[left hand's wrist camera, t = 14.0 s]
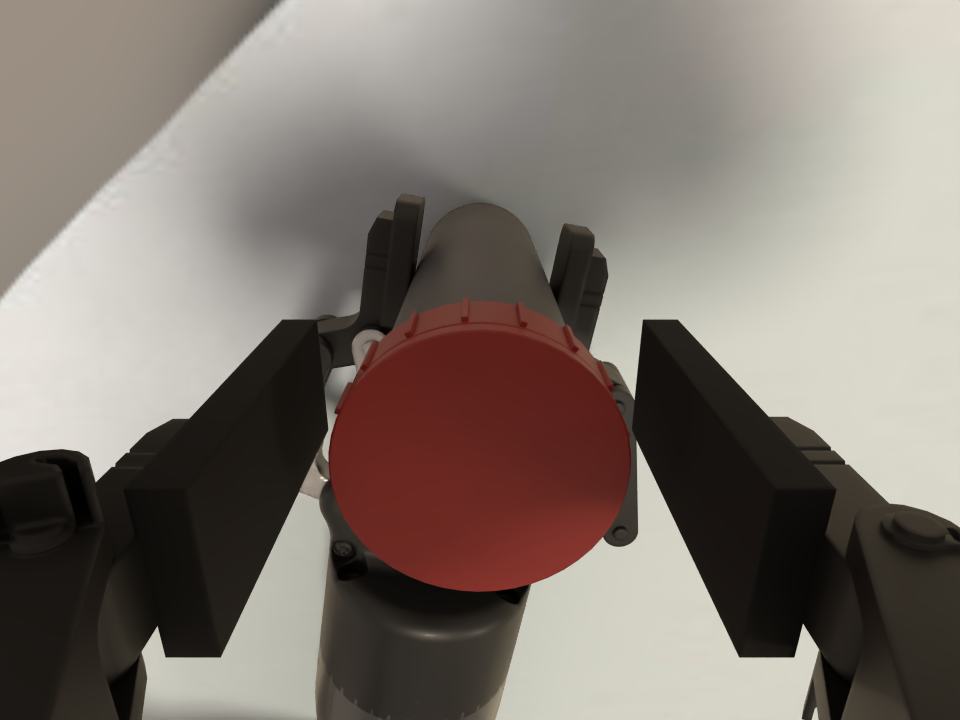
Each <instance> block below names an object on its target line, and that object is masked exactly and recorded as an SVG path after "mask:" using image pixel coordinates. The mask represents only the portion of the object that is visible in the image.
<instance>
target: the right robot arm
mask: <svg viewBox="0 0 960 720" xmlns="http://www.w3.org/2000/svg"><path fill="white" fill-rule="evenodd" d="M424 206H425V198H424V197H419V196H413V195H408V194H402V195H401V196H400V197H399V198H398V199H397V201H396V205H395V210H394V212H391V211H386V210H384V211H383V212H382V213H381V214H380V215H379V216H378V217H377V219H376V221H375V222H374V224H373V226H372V228H371V230H370V231H369V233H368V241H367V250H366V259H365V269H364V278H363V287H362V296H361V306H360V311H359V312H358V313H356V314H354V315H351V316H345V317H339V318H337V317H335V316H332V315H323V316H320V317H318V318H317V319H315V320H317V325H318V334H319V344H320V354H321V363H322V373H323V383H324V387H325V384H326V382H327V380H328V378H329V375H330V373H331V371H332V369H333V368H339V367H345V366H351V365H355V366H356V371H357V373H358V371H359V369H360V366H361V364H362V362H363V360H364V358H365V356H366V353H367V351H368V349H369V347H370V345H371V344H372V342H373V341H375V342H376V343H377V344H378V343H379V342H380V340H381V339H382V338H384V337H385V336H386V335H387V334H388V333H390V332H391V331H392V330H393V327H394V325H395V322H396V320H397V317H398V315H399V312H400V310H401V307H402V305H403V302H404V300H405V297H406V295H407V292H408V290H409V287H410V285H411V282H412V279H413V277H414V274H415V271H416V264H417V257H418V250H419V242H420V235H421V228H422V221H423V214H424ZM594 243H595V238H594V235H593V234H592V232H591V231H590V230H589V229H588V228H587V227H582V226H577V225H571V224H566V223H565V224H564V225H563V228H562V231H561V234H560V239H559V243H558V248H557V252H556V257H555V261H554V265H553V270H552V274H551V279H550V283H549V285H550V288H551V290H552V293H553V295H554V298H555V300H556V303H557V305H558V308H559V310H560V313H561V315H562V318H563V320H564V323H565V325H566V324H567V325H568V326H570V327H571V330H572V332H573V334H574V336H575V337H576V338H577V339H578V340H579V341H580V342H581V343H582V344H583V345H584V346H585V347H586V349H587V350H588V351H589V348H590V344H591V341H592V337H593V333H594V329H595V325H596V321H597V318H598V314H599V310H600V306H601V302H602V298H603V294H604V291H605V287H606V283H607V279H608V271H607V263H606V258H605V257H604V256H603V255H602V253H601V252H600V251H599V250H598V249H596V248H594ZM593 358H594V357H593ZM594 359H595V361H596V362H598V361H599V360H598V359H596V358H594ZM602 363H603V365H604V367H605V369H606V371H607V373H608V375H609V377H610V380H611V382H612V384H613V386H614V388H615V390H613V391H611V392H612V395H613V397H614V399H615V401H616V403H617V405H618V408H619V410H620V412H621V415H622V417H623V419H624V421H625V423H626V425H627V428H628V430H629V432H630V437H629V440H630V449H631V474H630V479H629V484H628V489H627V492H626V495H625V498H624V501H623V504H622V506H621V509H620V511H619V512H618V514H617V516H616V518H615V520H614V522H613V523H612V525H611V526H610V528H609V529H608V531H607V532H606V533H605V535H604V536H603V538H604V540H605V541H606V542H607V543H608V544H610V545H612V546H616V547H621V546H626V545H628V544H630V543H632V542H633V541H634V540H635V538H636V537H637V534H638V506H637V450H636V438H635V436H634V434H633V432H632V422H633V412H634V402H635V401H634V399H633V397H632V395H631V393H630V391H629V389H628V387H627V385H626V383H625V382H624V380H623V378H622V376H621V374H620V372H619V370H618V369H617V367H616V366H615V365H614V364H612V363H609V362H602ZM323 443H324V440H323V442H322V444H321V446H320V448H319V451H318V453H317V455H316V457H315V459H314V461H313V463H312V465H311V467H310V470H309V472H308V474H307V476H306V478H305V480H304V482H303V484H302V486H301V489H300V491H299V492H301V493H304V494H306V495H309V496H311V497H314V498H316V499H319V504H320V510H321V513H322V515H323V517H324V518H325V520H326V522H327V524H328V527H329V530H330V536H331V540H330V551H329V560H328V570H327V579H326V589H325V598H324V608H323V618H322V626H321V636H320V645H319V655H318V665H317V675H316V687H315V698H316V714H317V720H495V718H496V715H497V712H498V708H499V705H500V701H501V697H502V694H503V690H504V686H505V682H506V678H507V674H508V670H509V666H510V663H511V659H512V655H513V651H514V648H515V644H516V640H517V636H518V632H519V629H520V625H521V621H522V617H523V613H524V609H525V606H526V602H527V598H528V594H529V590H530V587H531V584H529V585H525V586H521V587H517V588H512V589H505V590H499V591H481V592H476V591H460V590H454V589H448V588H442V587H439V586H435V585H431V584H428V583H424V582H422V581H419V580H417V579H414V578H412V577H409V576H407V575H405V574H403V573H402V572H400V571H398V570H396V569H394V568H392V567H391V566H389V565H388V564H387V563H385V562H384V561H382V560H381V559H379V558H378V557H377V556H376V555H375V554H373V553H372V552H371V551H370V550H369V549H368V548H367V547H366V546H365V545H364V544H363V543H362V542H361V541H360V540H359V539H358V537H357V536H356V535H355V534H354V533H353V531H352V530H351V528H350V527H349V525H348V524H347V522H346V521H345V519H344V517H343V515H342V513H341V511H340V509H339V507H338V505H337V502H336V499H335V496H334V493H333V490H332V487H331V480H330V474H329V463H328V462H327V461H326V459H325V458H324V456H323V453H322V447H323Z"/></svg>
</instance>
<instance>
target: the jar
mask: <svg viewBox="0 0 960 720" xmlns="http://www.w3.org/2000/svg"><path fill="white" fill-rule="evenodd" d="M467 297H469V301H491V302H502V303H507V304H512V305H517V302H521V303H523V304H524V308H526V309H529V310H532V311H535V312H537V313H539V314H541V315H543V316H545V317H548V318H550V319H552V320H553V321H555V322H556V323H558V324H559V325H561V326H562V327H564V326H565V323H564V320H563V318H562V315H561V313H560V310H559V308H558V305H557V303H556V300H555V298H554V295H553V293H552V290H551V288H550V285H549V283H548V280H547V278H546V275H545V273H544V270H543V268H542V265H541V262H540V260H539V257H538V255H537V252H536V250H535V247H534V245H533V242H532V240H531V237H530V235H529V233H528V231H527V229H526V228H525V226H524V225H523V224H522V223H521V221H520V220H519V219H518V218H517V217H515V216H514V215H513V214H512V213H510V212H509V211H507V210H505V209H503V208H501V207H498V206H495V205H491V204H482V203H477V204H469V205H465V206H462V207H459V208H457V209H455V210H453V211H451V212H450V213H448V214H447V215H445V216H444V217H443V218H442V219H441V220H440V221H439V222H438V223H437V225H436V226H435V227H434V229H433V231H432V232H431V235H430V237H429V239H428V242H427V244H426V247H425V249H424V252H423V254H422V257H421V259H420V262H419V264H418V267H417V269H416V272H415V274H414V277H413V279H412V282H411V285H410V287H409V290H408V292H407V295H406V297H405V300H404V302H403V305H402V307H401V310H400V312H399V315H398V317H397V320H396V322H395V325H394V327H393V329H394V328H396V327H397V326H399V325H400V324H402V323H404V322H405V321H407V320H408V319H409V318H410V315H411V313H413V312H415V311H417V313H418V314H421V313H423V312H425V311H427V310H430V309H433V308H437V307H440V306H443V305H448V304H453V303H459V302H463V298H467Z"/></svg>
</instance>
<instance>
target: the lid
mask: <svg viewBox="0 0 960 720" xmlns="http://www.w3.org/2000/svg"><path fill="white" fill-rule="evenodd" d="M613 390H615V388H614V386H613V384H612V382H611V380H610V377H609V375H608V373H607V371H606V369H605V367H604V365H603V363H602V362H601V360H600V361H598V362H596V361H595V359H594V358H593V356H592V355H591V353H590V352H589V351H588V350H587V349H586V347H585V346H584V345H583V344H582V343H581V342H580V341H579V340H578V339H577V338H576V337H575V336H574V334H573V332H572V330H571V327H570V326H568V325H567V324H566V325H565V326H564V327H562V326H561V325H559V324H558V323H556V322H555V321H553V320H552V319H550V318H548V317H545V316H543V315H541V314H539V313H537V312H535V311H532V310H529V309H526V308H524V304H523V303H521V302H517V305H512V304H507V303H502V302H491V301H469V297H467V298H463V302H459V303H453V304H448V305H443V306H440V307H437V308H433V309H430V310H427V311H425V312H423V313H421V314H418V313H417V311H415V312H413V313H411V315H410V318H409V319H408V320H407V321H405V322H404V323H402V324H400V325H399V326H397V327H396V328H394V329H393V330H392V331H391V332H390V333H388V334H387V335H386V336H385V337H384V338H382V339H381V340H380V342H379V343H378V344H377V343H376V342H375V341H373V342H372V344H371V345H370V347H369V349H368V351H367V353H366V356H365V358H364V360H363V362H362V364H361V366H360V369H359V371H358V373H357V375H356V377H355V379H354V381H353V383H350V382H348V384H347V386H346V388H345V390H344V392H343V394H342V396H341V399H340V401H339V403H338V405H337V407H336V409H335V412H334V413H335V414H338V416H337V418H336V421H335V424H334V427H333V431H332V434H331V439H330V446H329V474H330V480H331V487H332V490H333V493H334V496H335V499H336V502H337V505H338V507H339V509H340V511H341V513H342V515H343V517H344V519H345V521H346V522H347V524H348V525H349V527H350V528H351V530H352V531H353V533H354V534H355V535H356V536H357V537H358V539H359V540H360V541H361V542H362V543H363V544H364V545H365V546H366V547H367V548H368V549H369V550H370V551H371V552H372V553H373V554H375V555H376V556H377V557H378V558H379V559H381V560H382V561H384V562H385V563H387V564H388V565H389V566H391V567H392V568H394V569H396V570H398V571H400V572H402V573H403V574H405V575H407V576H409V577H412V578H414V579H417V580H419V581H422V582H424V583H428V584H431V585H435V586H439V587H442V588H448V589H454V590H460V591H476V592H481V591H499V590H505V589H512V588H517V587H521V586H525V585H529V584H532V583H535V582H538V581H540V580H543V579H546V578H548V577H550V576H552V575H554V574H556V573H558V572H560V571H562V570H564V569H566V568H567V567H569V566H570V565H572V564H573V563H575V562H576V561H578V560H579V559H580V558H581V557H583V556H584V555H585V554H586V553H587V552H589V551H590V550H591V549H592V548H593V547H594V546H595V545H596V544H597V543H598V542H599V540H600V539H601V538H602V537H603V536H604V535H605V533H606V532H607V531H608V529H609V528H610V526H611V525H612V523H613V522H614V520H615V518H616V516H617V514H618V512H619V511H620V509H621V506H622V504H623V501H624V498H625V495H626V492H627V489H628V484H629V479H630V474H631V449H630V440H629V437H630V432H629V430H628V428H627V425H626V423H625V421H624V419H623V417H622V415H621V412H620V410H619V408H618V405H617V403H616V401H615V399H614V397H613V395H612V392H611V391H613Z"/></svg>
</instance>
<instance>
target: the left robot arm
mask: <svg viewBox="0 0 960 720" xmlns="http://www.w3.org/2000/svg"><path fill="white" fill-rule="evenodd" d="M327 432H328V422H327V412H326V402H325V393H324V383H323V373H322V363H321V354H320V344H319V334H318V325H317V320H282V321H281V322H280V323H279V324H278V325H277V326H276V327H275V328H274V329H273V330H272V331H271V332H270V333H269V335H268V336H267V337H266V338H265V339H264V340H263V341H262V342H261V343H260V344H259V345H258V346H257V347H256V348H255V349H254V351H253V352H252V353H251V354H250V355H249V356H248V357H247V358H246V359H245V360H244V361H243V362H242V363H241V364H240V365H239V367H238V368H237V369H236V370H235V371H234V372H233V373H232V374H231V375H230V376H229V377H228V378H227V379H226V380H225V381H224V383H223V384H222V385H221V386H220V387H219V388H218V389H217V390H216V391H215V392H214V393H213V394H212V395H211V396H210V397H209V398H208V400H207V401H206V402H205V403H204V404H203V405H202V406H201V407H200V408H199V409H198V410H197V411H196V412H195V413H194V414H193V416H192V417H191V418H190V419H172V420H170V421H168V422H166V423H165V424H163V425H161V426H159V427H157V428H155V429H153V430H152V431H150V432H148V433H146V434H145V435H144V436H143V437H142V438H141V439H140V440H139V441H138V442H137V443H136V444H135V445H134V446H133V447H132V448H131V449H130V453H126V454H125V455H124V456H123V457H122V458H121V459H120V460H119V461H117V462H116V466H115V467H111V468H110V469H109V470H108V471H107V472H106V473H105V474H104V475H103V476H102V477H101V478H100V479H99V480H98V481H97V482H95V479H94V475H93V471H92V468H91V464H90V460H89V457H87V456H85V455H84V454H82V453H81V452H79V451H71V450H64V449H59V450H46V451H38V452H33V453H29V454H24V455H20V456H16V457H13V458H10V459H7V460H4V461H2V462H0V720H142V713H143V705H144V698H145V690H146V683H147V674H146V668H145V663H144V660H143V656H142V652H141V651H142V650H143V648H144V647H145V645H146V643H147V642H148V640H149V639H150V637H151V635H152V634H153V632H154V631H155V629H156V627H157V626H158V629H159V633H160V637H161V641H162V645H163V649H164V653H165V657H221V656H222V653H223V651H224V649H225V647H226V645H227V643H228V641H229V639H230V637H231V634H232V632H233V630H234V628H235V626H236V624H237V622H238V620H239V618H240V615H241V613H242V611H243V609H244V607H245V605H246V603H247V601H248V599H249V596H250V594H251V592H252V590H253V588H254V586H255V584H256V582H257V579H258V577H259V575H260V573H261V571H262V569H263V567H264V565H265V563H266V560H267V558H268V556H269V554H270V552H271V550H272V548H273V546H274V544H275V541H276V539H277V537H278V535H279V533H280V531H281V529H282V527H283V525H284V522H285V520H286V518H287V516H288V514H289V512H290V510H291V508H292V505H293V503H294V501H295V499H296V497H297V495H298V493H299V491H300V489H301V486H302V484H303V482H304V480H305V478H306V476H307V474H308V472H309V470H310V467H311V465H312V463H313V461H314V459H315V457H316V455H317V453H318V451H319V448H320V446H321V444H322V442H323V440H324V438H325V436H326V434H327ZM632 432H633V434H634V436H635V438H636V440H637V442H638V444H639V446H640V448H641V451H642V453H643V455H644V457H645V459H646V461H647V463H648V465H649V467H650V470H651V472H652V474H653V476H654V478H655V480H656V482H657V484H658V486H659V489H660V491H661V493H662V495H663V497H664V499H665V501H666V503H667V505H668V508H669V510H670V512H671V514H672V516H673V518H674V520H675V522H676V525H677V527H678V529H679V531H680V533H681V535H682V537H683V539H684V541H685V544H686V546H687V548H688V550H689V552H690V554H691V556H692V558H693V560H694V563H695V565H696V567H697V569H698V571H699V573H700V575H701V577H702V579H703V582H704V584H705V586H706V588H707V590H708V592H709V594H710V596H711V599H712V601H713V603H714V605H715V607H716V609H717V611H718V613H719V615H720V618H721V620H722V622H723V624H724V626H725V628H726V630H727V632H728V634H729V637H730V639H731V641H732V643H733V645H734V647H735V649H736V651H737V653H738V656H739V657H795V653H796V649H797V645H798V641H799V637H800V633H801V629H802V625H803V624H804V626H805V627H806V629H807V630H808V632H809V634H810V635H811V637H812V638H813V640H814V642H815V643H816V645H817V646H818V648H819V652H818V656H817V660H816V663H815V667H814V671H813V674H812V678H811V682H810V685H809V689H808V693H807V696H806V700H805V704H804V709H803V715H802V719H803V720H812V716H813V713H814V709H815V708H816V707H817V711H818V718H819V720H960V527H958V526H957V525H955V524H954V523H952V522H951V521H948V520H946V519H944V518H942V517H939V516H937V515H935V514H932V513H930V512H928V511H924V510H921V509H917V508H913V507H909V506H905V505H898V504H889V503H888V502H887V501H886V500H885V499H884V498H883V497H882V496H881V495H880V494H879V493H878V492H877V491H876V490H875V489H873V488H872V487H871V486H870V485H869V484H868V483H867V482H866V481H865V480H864V479H863V478H862V477H861V476H860V475H859V474H858V473H857V472H856V471H855V470H854V469H853V468H852V467H851V466H850V465H845V461H844V460H843V459H842V458H841V457H840V456H839V455H838V454H837V453H836V452H835V451H831V447H830V446H829V445H828V444H827V443H826V442H825V441H824V440H823V439H822V438H821V437H820V436H819V435H817V434H816V433H815V432H814V431H813V430H811V429H809V428H807V427H805V426H804V425H802V424H800V423H798V422H796V421H794V420H792V419H791V418H789V417H768V416H767V414H766V413H765V412H764V411H763V410H762V409H761V408H760V407H759V406H758V405H757V404H756V403H755V402H754V401H753V400H752V398H751V397H750V396H749V395H748V394H747V393H746V392H745V391H744V390H743V389H742V388H741V387H740V386H739V385H738V384H737V383H736V381H735V380H734V379H733V378H732V377H731V376H730V375H729V374H728V373H727V372H726V371H725V370H724V369H723V368H722V367H721V365H720V364H719V363H718V362H717V361H716V360H715V359H714V358H713V357H712V356H711V355H710V354H709V353H708V352H707V351H706V349H705V348H704V347H703V346H702V345H701V344H700V343H699V342H698V341H697V340H696V339H695V338H694V337H693V336H692V335H691V333H690V332H689V331H688V330H687V329H686V328H685V327H684V326H683V325H682V324H681V323H680V322H679V321H678V320H643V325H642V334H641V344H640V354H639V363H638V373H637V383H636V393H635V402H634V412H633V422H632Z"/></svg>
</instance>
